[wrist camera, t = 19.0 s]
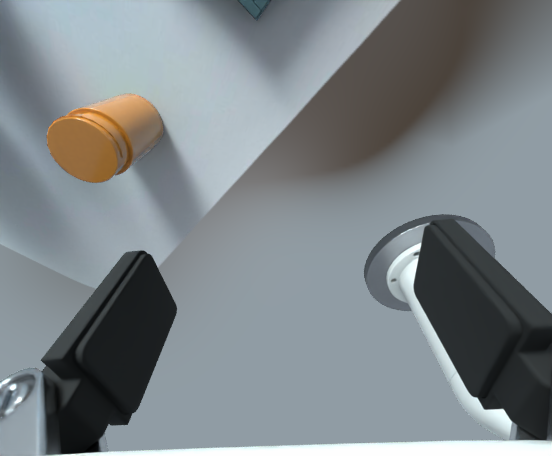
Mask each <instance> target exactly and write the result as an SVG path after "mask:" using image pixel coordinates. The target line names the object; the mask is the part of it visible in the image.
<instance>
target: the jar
mask: <svg viewBox="0 0 552 456" xmlns="http://www.w3.org/2000/svg"><path fill="white" fill-rule="evenodd" d="M162 135H163V123H162V119H161V117H160V115H159V113H158V111H157V110H156V109H155V107H154V106H153V105H152V104H151V103H150V102H149V101H147V100H146V99H144V98H142V97H140V96H138V95H135V94H121V95H118V96H115V97H112V98H109V99H106V100H103V101H100V102H96V103H93V104H90V105H87V106H84V107H81V108H78V109H75V110H73V111H71V112H70V113H68V114H67V115H66V116H62V117H60V118H58V119H57V120H55V121H53V123H52V124H51V126H50V127H49V129H48V134H47V135H46V136H47V143H48V144H47V146H48V148H49V150H50V154H51V156H52V157H53V158H54V160H55V161H56V162H57V163H58V164H59V165H60V166H61V167H62V168H63V169H64V170H65V171H66V172H67V173H69V174H70V175H72V176H74V177H76V178H78V179H80V180H83V181H86V182H92V183H99V182H104V181H107V180H109V179H110V178H112V177H113V176H114V175H119V174H121V173H123V172H125V171H126V170H127V169H128V168H130V167H131V166H132V165H133V164H134V163H136V162H137V161H138V160H139V159H140V158H142V157H143V156H144V155H145V154H146V153H147V152H149V151H150V150H151V149H152V148H153V147H155V146H156V145H157V144H158V143H159V142H160V140H161V138H162Z"/></svg>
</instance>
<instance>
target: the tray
mask: <svg viewBox="0 0 552 456" xmlns="http://www.w3.org/2000/svg"><path fill="white" fill-rule="evenodd" d="M238 1H239V2H240V3H241V4H242V5H243V7H244V8H245V9H246V10H247V11H248V12H249V13H250V14H251V15H252V16H253V17H254V18H255V19H256V20H258V19H259V17H260V16H261V14H262V13H263V11H264V10H265V8H266V7H267V5H268V4H269V2H270V1H271V0H238Z"/></svg>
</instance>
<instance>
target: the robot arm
mask: <svg viewBox="0 0 552 456" xmlns="http://www.w3.org/2000/svg"><path fill="white" fill-rule="evenodd" d="M386 282H387V286H388V288H389V290H390V292H391V293H392V295H393V296H394V297H395V298H397V299H399V300H400V301H403V302H405V303H408V304H409V306H410V308H411V310H412V312H413V314H414V316H415V318H416V320H417V322H418V324H419V326H420V328H421V330H422V332H423V334H424V336H425V338H426V340H427V341H428V343H429V345H430V347H431V349H432V351H433V353H434V355H435V357H436V359H437V361H438V363H439V365H440V367H441V369H442V371H443V373H444V375H445V377H446V379H447V381H448V382H449V384H450V386H451V388H452V390H453V392H454V394H455V396H456V398H457V400H458V401H459V403H460V405H461V406H462V407H463V409H464V410H465V411H466V412H467V413H468V414H469V415H470V417H471V418H472V419H474V420H475V421H476V422H477V423H478V424H480V425H481V426H483V427H484V428H486V429H487V430H489V431H490V432H492V433H494V434H495V435H497V436H499V437H500V438H502V439H504V440H490V441H489V440H487V441H486V440H485V441H484V440H483V441H426V442H425V441H424V442H388V443H351V444H319V445H318V444H317V445H286V446H257V447H256V446H255V447H226V448H196V449H169V450H143V451H118V452H108V448H107V442H106V438H105V430H106V428H107V426H108V424H110V425H128V423H129V420H130V418H131V415H132V413H134V412H136V410H137V409H138V407H139V405H140V403H141V400H142V398H143V395H144V393H145V390H146V388H147V385H148V383H149V380H150V378H151V375H152V373H153V371H154V368H155V366H156V363H157V361H158V358H159V356H160V353H161V351H162V348H163V346H164V343H165V341H166V338H167V336H168V333H169V331H170V328H171V326H172V324H173V321H174V319H175V316H176V313H177V312H176V311H177V307H176V304H175V302H174V300H173V298H172V296H171V294H170V292H169V290H168V288H167V286H166V284H165V282H164V280H163V278H162V276H161V274H160V272H159V270H158V268H157V265H156V263H155V261H154V259H153V257H152V256H151V255H150V254H147V253H146V252H145V251H132V252H126V253H125V254H124V255H123V256H122V257H121V258H120V260H119V261H118V262H117V264H116V265H115V266H114V267H113V269H112V270H111V271H110V273H109V274H108V275H107V276H106V278H105V279H104V280H103V281H102V283H101V284H100V285H99V287H98V288H97V289H96V290H95V292H94V293H93V295H92V296H91V297H90V298H89V299H88V301H87V302H86V303H85V304H84V306H83V307H82V308H81V310H80V311H79V312H78V313H77V315H76V316H75V317H74V319H73V320H72V321H71V322H70V324H69V325H68V326H67V328H66V329H65V330H64V331H63V333H62V334H61V335H60V336H59V338H58V339H57V340H56V341H55V343H54V344H53V345H52V347H51V348H50V349H49V351H48V352H47V353H46V354H45V356H44V357H43V358H42V359H41V361H42V362H43V363H44V364H45V365H46V367H45V368H44V369H43V371H40V370H39V369H37V368H28V369H24V370H20V371H18V372H16V373H14V374H11V375H9V376H8V377H7V378H5V379H3V380H2V381H0V456H552V314H551V313H550V312H549V311H548V310H547V309H546V308H545V307H544V306H543V305H542V304H541V303H540V302H539V301H538V300H537V299H536V298H535V297H534V296H533V295H532V294H531V293H529V292H528V291H527V290H526V289H525V288H524V287H523V286H522V285H521V284H520V283H519V282H518V281H517V280H516V279H515V278H514V277H513V276H512V275H511V274H510V273H509V272H508V271H507V270H506V269H505V268H504V267H503V266H502V265H501V264H500V263H499V262H498V261H496V260H495V259H494V258H493V257H492V256H491V255H490V254H489V253H488V252H487V251H486V250H485V249H484V248H483V247H482V246H481V245H480V244H479V243H478V242H477V241H476V240H475V239H474V238H473V237H472V236H471V235H470V234H469V233H468V232H467V231H466V230H465V229H464V228H463V227H461V226H460V225H459V224H458V223H457V222H456V221H455V220H454V219H442V220H433V221H431V222H430V224H429V225H427V226H425V228H424V232H423V237H422V242H421V243H419V244H417V245H414V246H412V247H410V248H409V249H407V250H405V251H404V252H403V253H401V254H400V255H399V256H398V257H397V258H396V259H395V260H394V261H393V262H392V264H391V265H390V267H389V269H388V272H387V276H386Z"/></svg>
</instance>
